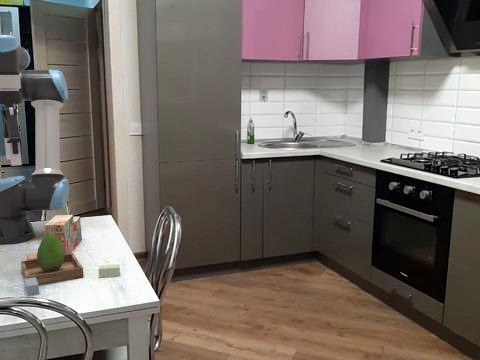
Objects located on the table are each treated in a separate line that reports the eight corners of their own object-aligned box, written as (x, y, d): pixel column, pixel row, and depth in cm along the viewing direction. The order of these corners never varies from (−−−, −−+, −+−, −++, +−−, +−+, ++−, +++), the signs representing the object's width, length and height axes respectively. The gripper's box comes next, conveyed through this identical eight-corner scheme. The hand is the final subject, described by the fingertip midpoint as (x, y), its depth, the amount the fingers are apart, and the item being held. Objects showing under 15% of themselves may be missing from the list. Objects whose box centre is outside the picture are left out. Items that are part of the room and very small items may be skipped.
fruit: (70, 270, 152) (68, 232, 150) (48, 278, 146) (44, 239, 144) (55, 265, 157) (52, 228, 154) (32, 272, 150) (29, 234, 148)
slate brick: (25, 289, 140) (24, 279, 140) (36, 287, 142) (35, 277, 141) (27, 296, 135) (26, 286, 134) (39, 294, 136) (38, 284, 136)
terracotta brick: (27, 262, 162) (26, 253, 161) (36, 261, 163) (36, 252, 162) (29, 268, 156) (28, 259, 156) (39, 266, 158) (38, 257, 157)
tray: (21, 270, 154) (21, 261, 154) (73, 261, 162) (72, 253, 161) (27, 287, 141) (26, 277, 140) (83, 277, 148) (83, 267, 148)
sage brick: (98, 278, 148) (98, 269, 147) (99, 274, 151) (99, 265, 150) (119, 276, 149) (119, 267, 148) (119, 273, 152) (119, 264, 151)
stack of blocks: (65, 240, 184) (62, 208, 182) (82, 240, 185) (80, 208, 183) (47, 260, 164) (44, 224, 161) (66, 259, 164) (63, 223, 162)
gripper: (-11, 89, 153) (-4, 157, 157) (-4, 90, 132) (4, 169, 136) (16, 89, 156) (22, 155, 160) (26, 90, 135) (33, 166, 139)
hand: (13, 162), depth 148 cm, fingers open, 13 cm apart
